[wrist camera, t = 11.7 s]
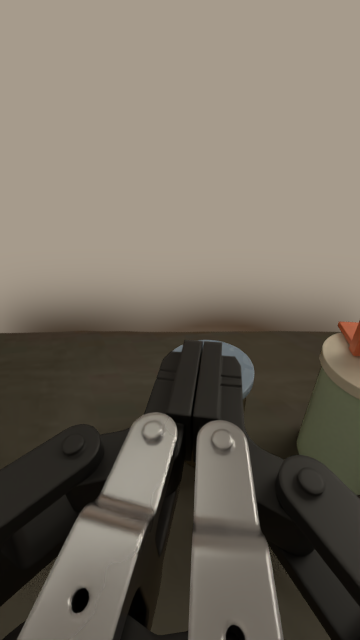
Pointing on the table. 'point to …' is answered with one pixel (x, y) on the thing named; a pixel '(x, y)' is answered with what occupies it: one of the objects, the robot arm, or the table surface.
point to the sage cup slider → (351, 335)
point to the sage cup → (335, 413)
